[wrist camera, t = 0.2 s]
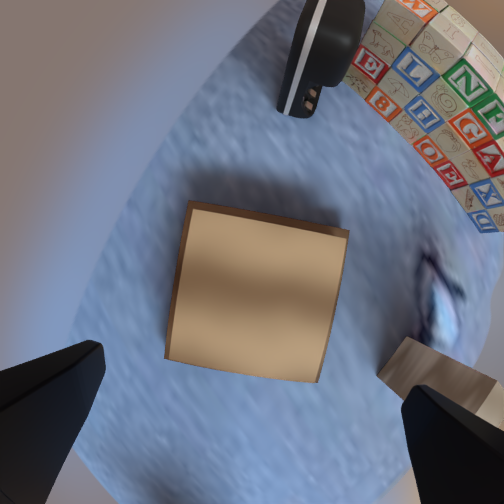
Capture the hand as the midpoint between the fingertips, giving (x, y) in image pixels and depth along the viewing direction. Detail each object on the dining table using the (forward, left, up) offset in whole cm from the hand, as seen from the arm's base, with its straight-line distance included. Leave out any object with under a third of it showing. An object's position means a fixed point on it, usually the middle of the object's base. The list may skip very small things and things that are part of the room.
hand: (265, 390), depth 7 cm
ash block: (+6, -15, -15) cm, 22 cm away
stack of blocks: (+24, -1, -16) cm, 28 cm away
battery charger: (+16, +10, -16) cm, 24 cm away
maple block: (+1, 0, -14) cm, 14 cm away
